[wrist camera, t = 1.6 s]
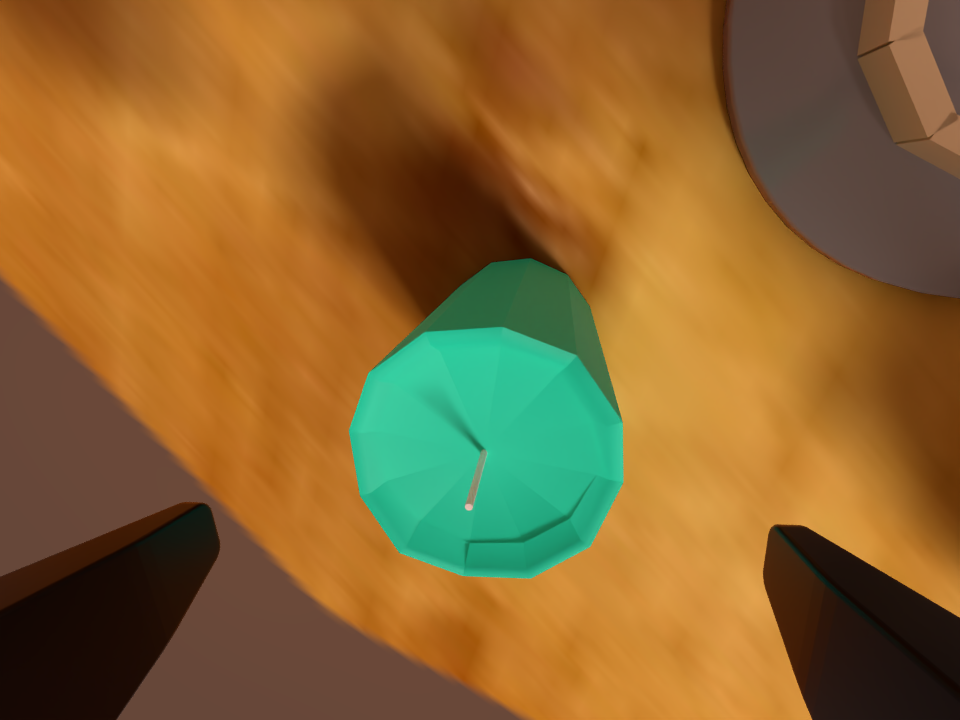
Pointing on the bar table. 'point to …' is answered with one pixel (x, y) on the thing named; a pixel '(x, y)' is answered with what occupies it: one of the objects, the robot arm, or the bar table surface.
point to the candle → (493, 428)
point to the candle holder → (854, 129)
